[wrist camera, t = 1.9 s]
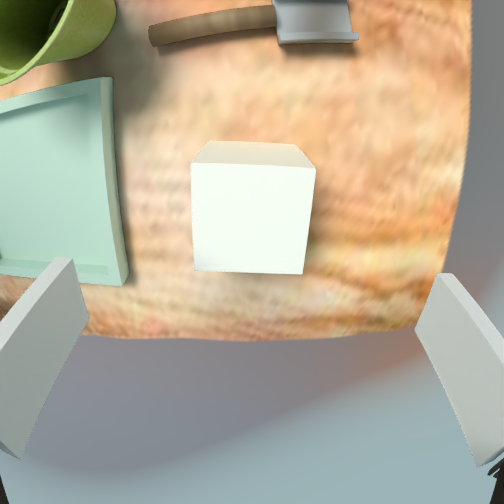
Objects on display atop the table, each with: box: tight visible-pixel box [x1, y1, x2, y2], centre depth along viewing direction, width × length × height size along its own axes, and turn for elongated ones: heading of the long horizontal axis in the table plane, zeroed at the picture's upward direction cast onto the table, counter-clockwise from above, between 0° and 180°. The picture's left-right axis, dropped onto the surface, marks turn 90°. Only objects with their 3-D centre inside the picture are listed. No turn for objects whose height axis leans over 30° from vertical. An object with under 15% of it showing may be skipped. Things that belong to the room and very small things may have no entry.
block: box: [191, 141, 316, 274], centre depth 19 cm, size 6×6×7 cm
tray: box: [0, 77, 129, 286], centre depth 21 cm, size 16×16×2 cm
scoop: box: [148, 0, 359, 47], centre depth 16 cm, size 13×4×2 cm, turn 97°
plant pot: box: [0, 0, 116, 86], centre depth 12 cm, size 9×9×9 cm
